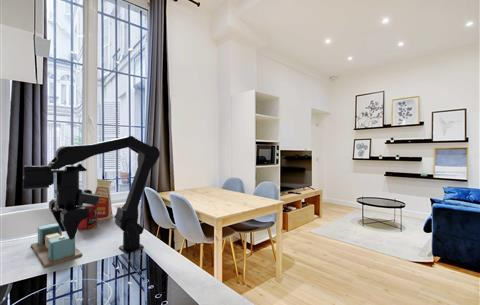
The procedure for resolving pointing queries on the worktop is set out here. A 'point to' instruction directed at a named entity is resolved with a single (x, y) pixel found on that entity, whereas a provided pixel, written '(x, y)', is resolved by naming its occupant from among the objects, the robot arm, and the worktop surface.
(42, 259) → the board
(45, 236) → the wooden block
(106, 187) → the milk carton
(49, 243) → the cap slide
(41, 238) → the cap fixed
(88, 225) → the canned food
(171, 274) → the worktop surface
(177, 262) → the worktop surface
